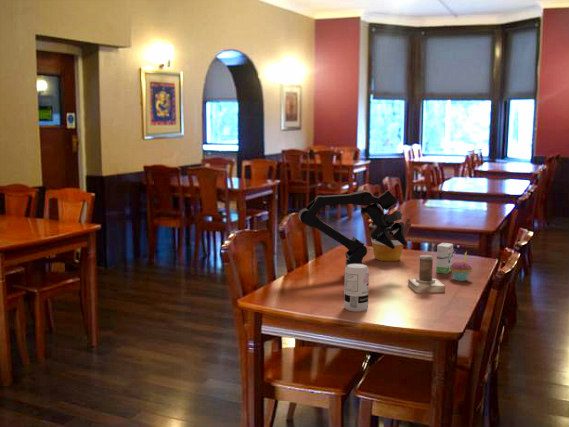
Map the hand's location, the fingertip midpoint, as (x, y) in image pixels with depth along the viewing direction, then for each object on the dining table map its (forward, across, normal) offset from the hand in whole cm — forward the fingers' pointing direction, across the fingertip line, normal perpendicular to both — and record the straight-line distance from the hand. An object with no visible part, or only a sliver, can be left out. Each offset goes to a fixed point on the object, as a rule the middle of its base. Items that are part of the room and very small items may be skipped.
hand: (400, 246), depth 256 cm
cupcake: (+23, +17, -3) cm, 29 cm away
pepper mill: (+18, -5, -2) cm, 19 cm away
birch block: (+20, -5, 0) cm, 21 cm away
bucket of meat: (-7, +30, +26) cm, 41 cm away
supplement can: (+17, -45, +3) cm, 48 cm away
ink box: (+15, +25, +5) cm, 30 cm away
